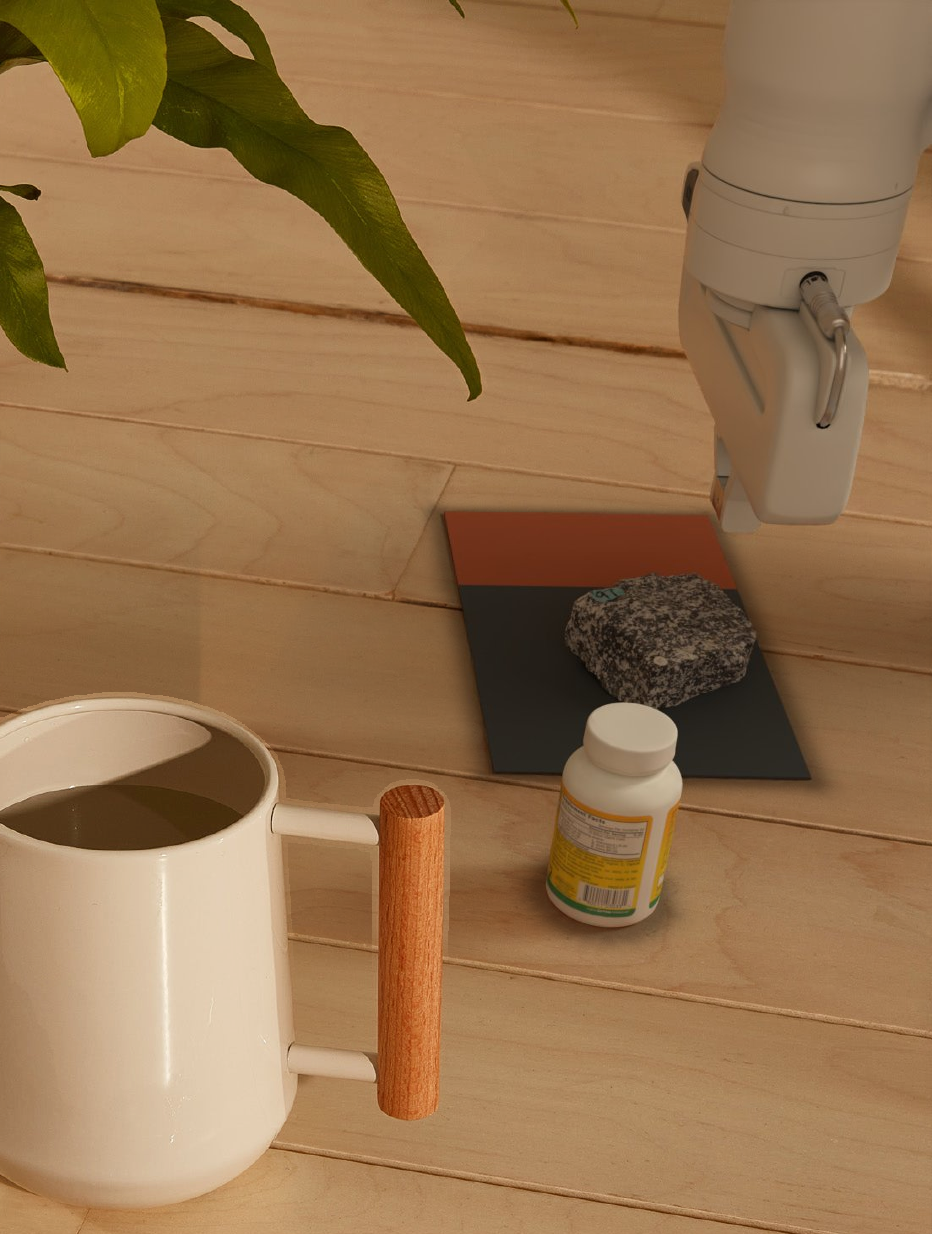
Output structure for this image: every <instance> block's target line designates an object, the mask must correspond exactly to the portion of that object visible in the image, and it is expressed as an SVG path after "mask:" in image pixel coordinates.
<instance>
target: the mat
mask: <svg viewBox="0 0 932 1234" xmlns="http://www.w3.org/2000/svg"><path fill="white" fill-rule="evenodd" d="M443 515H444V520H445V524H446V530H447V537H448V541H449V546H450V552H451V556H452V557H451V558H452V561H453V567H454V573H455V577H456V583H457V588H458V593H459V598H460V603H461V609H462V614H463V619H464V623H465V629H466V630H465V631H466V635H467V640H468V641H467V642H468V645H469V650H470V655H471V661H472V667H473V671H474V677H475V682H476V688H477V692H478V697H479V702H480V708H481V713H482V718H483V719H482V720H483V725H484V729H485V734H486V740H487V745H488V746H487V747H488V751H489V756H490V760H491V767H492V771H493V774H502V775H505V774H506V775H507V774H508V775H556V776H557V775H559V776H561V775H563V771H564V767H565V765H566V763H567V761H568V759H569V758H570V756H571V755H572V754H573V753H574V752H575V751H576V750H577V749H579V748H580V747H582V746H584V744H583V739H584V734H585V729H586V724H587V720H588V718H589V716H590V714H591V713H592V712H593V711H594V710H596V709H597V708H599V707H601V706H604V705H607V704H612V703H623V702H621V701H618V700H617V699H616V697H614V696H612V695H611V694H610V693H608V692H607V691H606V690H605V689H604V688H603V686H602V685H601V684H600V683H601V681H599V680H598V678H597V675H595V674H594V673H592V672H590V671H588V670H587V668H586V663H584V662H582V660H581V659H580V658H578V657H576V656H575V655H574V654H573V653H572V651H571V650H570V648H569V647H567V646H566V644H565V630H566V627H567V624H568V622H569V621H570V619H571V613H572V608H573V605H574V603H575V601H576V600H577V599H579V598H580V597H582V596H584V595H586V594H587V593H588V592H590V591H592V590H597V589H598V588H605V587H612V586H613V585H614V584H616V583H617V582H618V581H619V580H622V579H626V578H638V577H640V576H641V577H642V576H645V575H649V574H651V573H657V574H658V575H661V576H664V577H668V576H672V575H682V574H686V575H689V574H691V573H696V574H697V575H699V576H700V577H702V578H703V579H705V580H707V581H709V582H712V583H714V584H716V585H718V586H719V587H720V588H721V589H722V590H723V592H724V593H725V594H726V595H727V597H728V598H729V599H730V600H732V602H733V604H734V605H736V606H738V607H739V608H741V609H742V610H743V612H744V613H745V617H746V618H747V619H748V620H749V621H750V618H749V615H748V613H747V610H746V607H745V605H744V603H743V600H742V598H741V595H740V592H739V590H738V588H737V585H736V583H735V580H734V578H733V575H732V572H731V569H730V567H729V564H728V563H727V560H726V557H725V555H724V552H723V549H722V547H721V545H720V542H719V540H718V537H717V534H716V532H715V529H714V527H713V525H712V522H711V519H710V517H709V514H670V513H669V514H668V513H667V514H662V513H659V514H658V513H656V514H655V513H649V514H648V513H599V512H598V513H596V512H595V513H594V512H593V513H590V512H587V513H586V512H584V513H582V512H529V511H528V512H522V511H521V512H519V511H459V510H458V511H455V510H453V511H451V510H444V512H443ZM750 622H751V621H750ZM658 711H660V712H662V713H664V714H665V715H667V716H668V717H669V718H670V719H671V720H672V721H673V722H674V724H675V725H676V728H677V733H678V735H677V742H676V747H675V755H674V758H673V760H672V761H673V762H674V763H675V764H676V766H677V767H678V769H679V771H680V774H681V777H682V778H703V779H705V778H706V779H707V778H708V779H709V778H710V779H711V778H712V779H714V778H715V779H753V780H754V779H756V780H757V779H759V780H760V779H763V780H764V779H765V780H808V781H809V780H812V775H811V772H810V770H809V767H808V765H807V763H806V762H807V761H806V760H805V757H804V755H803V752H802V749H801V747H800V744H799V743H798V740H797V737H796V735H795V732H794V729H793V727H792V725H791V721H790V719H789V717H788V713H787V712H786V709H785V707H784V704H783V702H782V699H781V697H780V694H779V691H778V690H777V687H776V685H775V681H774V679H773V677H772V674H771V671H770V668H769V666H768V663H767V661H766V658H765V656H764V654H763V651H762V649H761V646H760V643H759V641H758V639H757V637H756V640H755V642H754V647H753V649H752V651H751V654H750V662H749V664H748V665H747V668H746V673H745V676H744V677H743V679H742V680H741V681H739V682H735V683H730V684H729V685H726V686H723V687H720V688H718V689H716V690H713V691H710V692H707V693H700V694H699V695H697V696H694V697H691V698H689V699H688V700H686V701H684V702H683V703H681V704H679V705H677V706H671V707H667V708H665V709H660V710H658Z"/></svg>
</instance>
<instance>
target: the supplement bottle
mask: <svg viewBox="0 0 932 1234" xmlns="http://www.w3.org/2000/svg"><path fill="white" fill-rule="evenodd" d="M677 735H678V733H677V728H676V725H675V724H674V722H673V721H672V720H671V719H670V718H669V717H668V716H667V715H665V714H664V713H662V712H660V711H658V710H656V709H654V708H651V707H648V706H645V705H641V704H636V703H612V704H607V705H604V706H601V707H599V708H597V709H596V710H594V711H593V712H592V713H591V714H590V716H589V718H588V720H587V724H586V729H585V734H584V739H583V744H584V746H582V747H580V748H579V749H577V750H576V751H575V752H574V753H573V754H572V755H571V756H570V758H569V759H568V761H567V763H566V765H565V767H564V771H563V775H562V776H561V781H560V789H559V795H558V803H557V807H556V808H557V809H556V816H555V819H554V826H553V833H552V839H551V846H550V851H549V858H548V859H549V860H548V865H547V874H546V880H545V889H546V894H547V896H548V899H549V900H550V901H551V903H552V904H553V905H554V907H556V908H557V909H558V910H559V911H560V912H562V913H563V914H565V915H566V916H567V917H569V918H571V919H573V920H575V921H577V922H580V923H583V924H585V925H589V926H593V927H594V926H595V927H600V928H622V927H627V926H631V925H632V926H633V925H635V924H637V923H640V922H641V921H644V920H645V919H647V918H648V917H649V916H650V915H652V914H653V912H654V911H655V910H656V908H657V906H658V904H659V901H660V897H661V893H662V888H663V883H664V878H665V874H666V869H667V864H668V859H669V854H670V850H671V846H672V841H673V835H674V833H675V832H674V831H675V827H676V821H677V816H678V812H679V807H680V803H681V798H682V793H683V777H681V774H680V771H679V769H678V767H677V766H676V764H675V763H674V762H673V761H672V760H673V758H674V755H675V747H676V742H677Z"/></svg>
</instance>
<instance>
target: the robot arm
mask: <svg viewBox="0 0 932 1234" xmlns="http://www.w3.org/2000/svg"><path fill="white" fill-rule="evenodd" d="M720 69H721V79H722V93H721V94H722V95H721V102H720V107H719V110H718V114H717V117H716V119H715V122H714V124H713V126H712V128H711V130H710V131H709V134H708V136H707V138H706V140H705V143H704V146H703V148H702V149H703V150H702V154H701V158H700V161H690V162H689V163H688V165H687V166H686V170H685V173H684V176H683V183H682V187H681V193H680V194H681V196H680V203H681V207H682V210H683V213H684V215H685V218H686V231H685V233H686V235H685V242H684V249H683V259H682V267H681V278H680V286H679V297H678V314H677V315H678V320H677V321H678V336H679V342H680V346H681V349H682V350H683V352H684V354H685V356H686V359H687V361H688V363H689V366H690V368H691V370H692V373H693V375H694V378H695V380H696V382H697V384H698V386H699V389H700V391H701V394H702V395H703V398H704V400H705V403H706V405H707V408H708V409H709V412H710V414H711V417H712V419H713V421H714V425H713V464H714V465H713V469H714V473H713V477H712V482H711V488H710V492H709V493H710V494H709V500H710V503H711V505H712V507H713V509H714V511H715V513H716V517H717V519H718V522H719V526H720V527H721V530H722V531H724V532H725V533H726V534H741V535H742V534H745V535H747V534H748V535H749V534H752V533H755V532H757V531H758V530H759V528H760V527H761V523H763V524H767V525H781V526H829V525H832V524H834V523H836V522H837V520H839V518H840V517H841V516H842V514H843V513H844V512H845V509H846V507H847V505H848V504H849V499H850V496H851V491H852V486H853V482H854V477H855V472H856V466H857V462H858V457H859V451H860V445H861V441H862V435H863V429H864V423H865V417H866V413H867V411H866V410H867V404H868V397H869V387H870V369H869V368H870V366H869V359H868V355H867V352H866V350H865V347H864V346H863V344H862V342H861V341H860V339H859V337H858V336H857V334H856V332H855V330H854V329H853V327H852V325H851V319H852V317H853V314H854V313H853V312H854V308H855V307H856V306H859V305H864V304H866V303H869V302H871V301H874V300H876V299H877V298H879V297H881V296H882V295H883V294H884V293H885V292H886V291H887V290H888V289H889V287H890V284H891V282H892V278H893V274H894V271H895V266H896V261H897V257H898V254H899V250H900V245H901V241H902V237H903V233H904V229H905V225H906V220H907V216H908V213H909V209H910V204H911V200H912V196H913V191H914V187H915V183H916V180H917V175H918V169H919V163H920V159H921V157H922V155H923V153H924V152H925V151H926V150H927V149H928V148H929V147H930V146H932V0H730V2H729V5H728V12H727V18H726V21H725V27H724V32H723V38H722V43H721V49H720Z"/></svg>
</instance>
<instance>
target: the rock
mask: <svg viewBox="0 0 932 1234" xmlns="http://www.w3.org/2000/svg"><path fill="white" fill-rule="evenodd" d="M749 620H750V619H749ZM749 620H748V619H747V618H746V617H745V613H744V612H743V610H742V609H741V608H739V607H738V606H736V605H734V604H733V602H732V600H730V599H729V598H728V597H727V595H726V594H725V593H724V592H723V590H722V589H721V588H720V587H719V586H718V585H716V584H714V583H712V582H709V581H707V580H705V579H703V578H702V577H700V576H699V575H697V574H696V573H691V574H689V575H686V574H682V575H672V576H668V577H664V576H661V575H658V574H657V573H651V574H649V575H645V576H642V577H641V576H640V577H638V578H626V579H622V580H619V581H618V582H617V583H616V584H614V585H613V586H612V587H605V588H598V589H597V590H592V591H590V592H588V593H587V594H586V595H584V596H582V597H580V598H579V599H577V600H576V601H575V603H574V605H573V608H572V613H571V619H570V621H569V622H568V624H567V627H566V630H565V644H566V646H567V647H569V648H570V650H571V651H572V653H573V654H574V655H575V656H576V657H578V658H580V659H581V660H582V662H584V663H586V668H587V670H588V671H590V672H592V673H594V674H595V675H597V678H598V680H599V681H601V683H600V684H601V685H602V686H603V688H604V689H605V690H606V691H607V692H608V693H610V694H611V695H612V696H614V697H616V699H617V700H618V701H621V702H623V703H636V704H641V705H645V706H648V707H651V708H654V709H656V710H660V709H665V708H667V707H671V706H677V705H679V704H681V703H683V702H684V701H686V700H688V699H689V698H691V697H694V696H697V695H699V694H700V693H707V692H710V691H713V690H716V689H718V688H720V687H723V686H726V685H729V684H730V683H735V682H739V681H741V680H742V679H743V677H744V676H745V673H746V668H747V665H748V664H749V662H750V654H751V651H752V649H753V647H754V642H755V640H756V638H757V631H756V629H755V628H754V625H753V623H752V622H751V621H749Z"/></svg>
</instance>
